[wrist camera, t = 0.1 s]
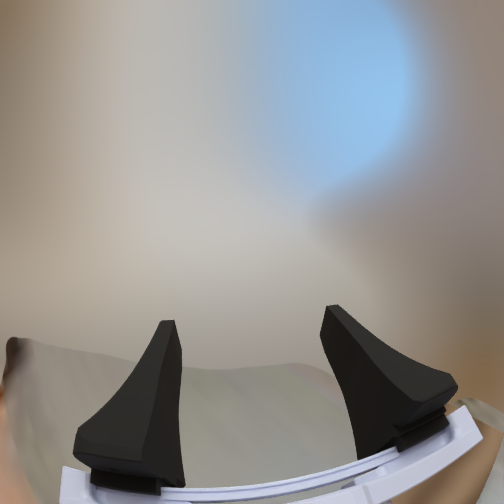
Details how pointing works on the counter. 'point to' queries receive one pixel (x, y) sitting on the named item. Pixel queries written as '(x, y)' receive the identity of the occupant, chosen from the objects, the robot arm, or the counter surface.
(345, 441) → the counter surface
